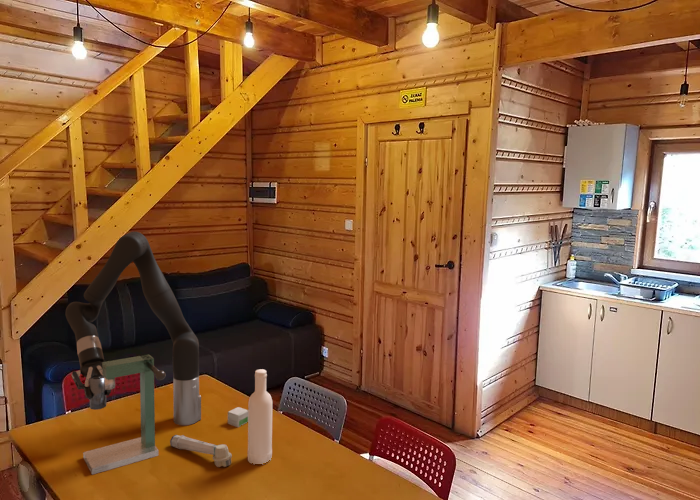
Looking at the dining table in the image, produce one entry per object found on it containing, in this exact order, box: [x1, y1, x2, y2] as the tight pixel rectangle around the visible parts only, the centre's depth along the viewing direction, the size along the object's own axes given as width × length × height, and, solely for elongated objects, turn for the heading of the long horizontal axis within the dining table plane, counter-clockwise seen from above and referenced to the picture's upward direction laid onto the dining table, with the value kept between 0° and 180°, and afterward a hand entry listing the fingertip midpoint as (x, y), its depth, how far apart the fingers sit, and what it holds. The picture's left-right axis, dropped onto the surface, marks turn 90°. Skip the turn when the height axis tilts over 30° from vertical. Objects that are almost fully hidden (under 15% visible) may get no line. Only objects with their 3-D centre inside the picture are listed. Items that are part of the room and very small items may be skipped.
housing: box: [89, 375, 107, 410], centre depth 172 cm, size 5×5×10 cm
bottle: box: [247, 368, 273, 465], centre depth 167 cm, size 8×8×30 cm
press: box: [82, 354, 167, 475], centre depth 162 cm, size 20×21×32 cm
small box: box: [227, 406, 248, 428], centre depth 194 cm, size 6×6×5 cm
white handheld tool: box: [169, 434, 233, 468], centre depth 169 cm, size 5×7×25 cm
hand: (99, 396), depth 170 cm, fingers closed on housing, 5 cm apart
